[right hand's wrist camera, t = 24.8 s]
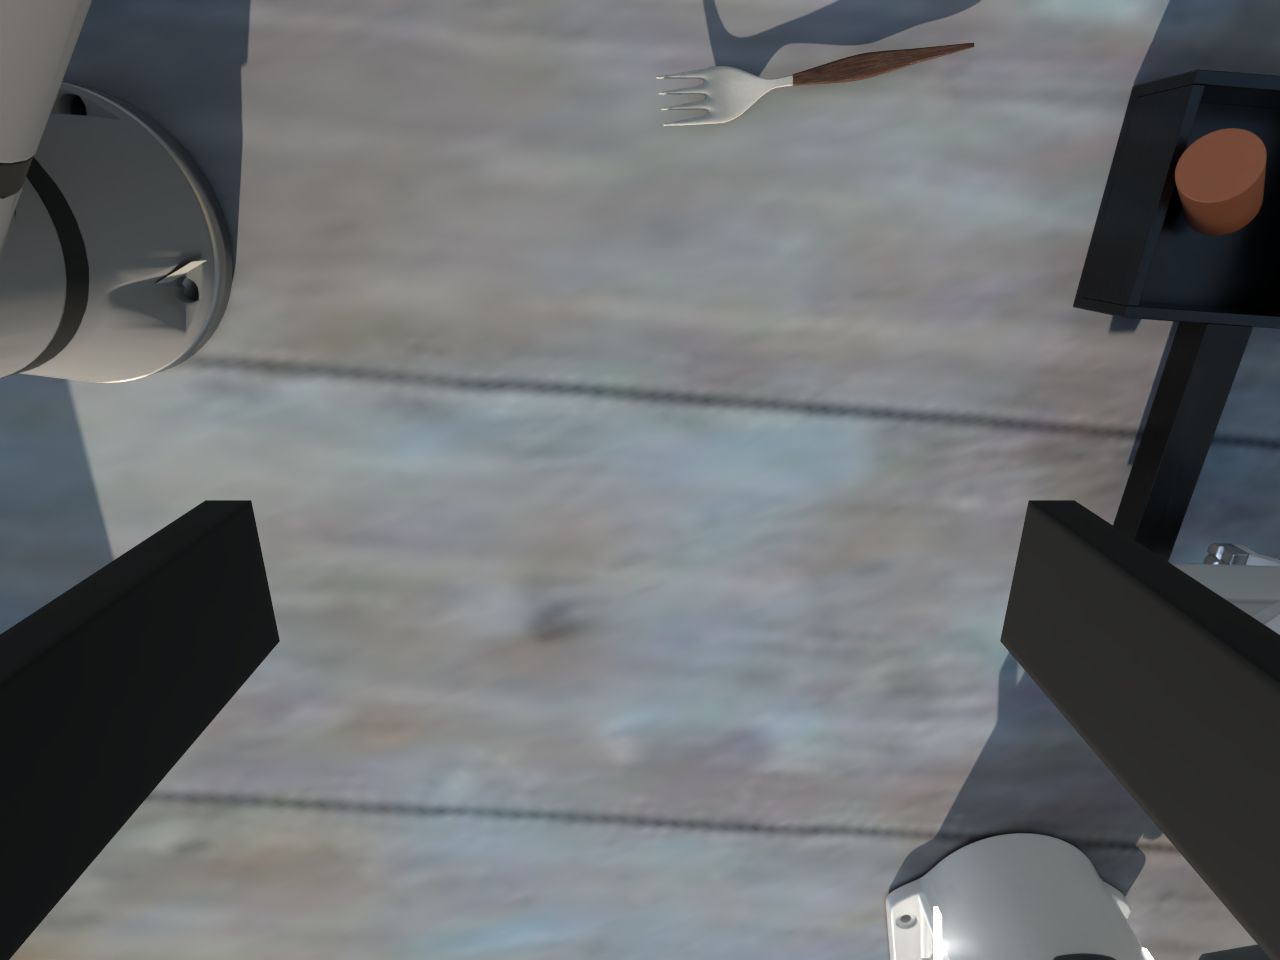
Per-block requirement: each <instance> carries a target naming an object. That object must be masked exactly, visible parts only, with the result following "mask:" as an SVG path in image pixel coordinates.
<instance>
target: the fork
mask: <svg viewBox="0 0 1280 960" xmlns="http://www.w3.org/2000/svg"><path fill="white" fill-rule="evenodd" d="M972 47H974V43H966V44H956V45H946V46H937V47H927V48H916V49H904V50H891V51H879V52H870V53H864V54H859V55H855V56H851V57H847V58H844V59H840V60H837V61H834V62H830V63H827V64H824V65H821V66H818V67H815V68H812V69H809V70H805V71H802V72H799V73H796V74H793V75H790V76H786V77H782V78H778V79H765V78H762V77H759V76H756V75H753V74H751V73H748V72H746V71H743V70H741V69H737V68H734V67H729V66H716V67H710V68H706V69H701V70H696V71H689V72H683V73H676V74H670V75H664V76H657V77H656V78H657V79H660V78H669V79H686V78H699V79H703V80H704V83H703V84H702V85H699V86H695V87H689V88H683V89H677V90H672V91H666V92H660V93H659V94H704V95H705V96H706V99H704V100H702V101H699V102H694V103H688V104H683V105H677V106H672V107H667V108H662V109H661V110H690V109H705V110H707V111H708V114H707V115H705V116H702V117H697V118H692V119H686V120H681V121H677V122H672V123H664V124H663V125H664V126H669V125H695V124H714V123H724V122H728V121H731V120H733V119H735V118H737V117H738V116H740V115H741V114H742V113H744V112H745V111H746V110H747V109H748V108H749V107H750V106H752V105H753V104H754V103H755V102H756V101H757V100H758V99H759V98H760V97H761V96H762V95H764V94H765V93H766V92H768V91H770V90H772V89H774V88H778V87H783V86H795V85H811V84H827V83H840V82H850V81H856V80H862V79H866V78H870V77H874V76H877V75H881V74H884V73H887V72H890V71H893V70H897V69H900V68H903V67H906V66H909V65H913V64H916V63H919V62H923V61H926V60H930V59H933V58H937V57H940V56H944V55H948V54H951V53H955V52H958V51H962V50H966V49H969V48H972Z"/></svg>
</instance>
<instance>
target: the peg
mask: <svg viewBox="0 0 1280 960" xmlns="http://www.w3.org/2000/svg"><path fill="white" fill-rule="evenodd" d="M1266 159H1267V153H1266V148H1265V145H1264V143H1263V142H1262V140H1261V139H1260V138H1259V137H1258V136H1257V135H1256V134H1254V133H1252V132H1250V131H1248V130H1244V129H1239V128H1227V129H1221V130H1217V131H1214V132H1211V133H1209V134H1206V135H1204V136H1203V137H1201V138H1199V139H1198V140H1196V141H1195V142H1194V143H1192V144H1191V145H1190V146H1189V147H1188V148H1187V149H1186V150H1185V152H1184V153H1183V154H1182V156H1181V157H1180V159H1179V161H1178V163H1177V166H1176V170H1175V181H1176V186H1177V189H1178V193H1179V197H1180V201H1181V205H1182V209H1183V212H1184V216H1185V219H1186V222H1187V224H1188V225H1189V226H1190V227H1191V228H1192V229H1193V230H1194V231H1196V232H1198V233H1200V234H1203V235H1208V236H1221V235H1226V234H1230V233H1232V232H1235V231H1237V230H1239V229H1241V228H1243V227H1244V226H1246V225H1247V224H1248V223H1249V222H1251V221H1252V220H1253V219H1254V217H1255V216H1256V215H1257V213H1258V212H1259V210H1260V208H1261V206H1262V202H1263V194H1264V182H1265V171H1266Z"/></svg>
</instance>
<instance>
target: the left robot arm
mask: <svg viewBox="0 0 1280 960" xmlns="http://www.w3.org/2000/svg"><path fill="white" fill-rule="evenodd" d="M1208 553H1209V555H1208V556H1207V557H1205V560H1204V564H1191V563H1171V564H1172V565H1174V566H1175V567H1177V568H1178V569H1180V570H1181V571H1183V572H1184V573H1186V574H1187V575H1189V576H1191V577H1192V578H1194V579H1195V580H1197V581H1198V582H1200V583H1201V584H1203V585H1204V586H1206V587H1207V588H1209V589H1210V590H1212V591H1214V592H1215V593H1217V594H1218V595H1220V596H1221V597H1223V598H1224V599H1226V600H1227V601H1229V602H1230V603H1232V604H1233V605H1235V606H1236V607H1238V608H1240V609H1241V610H1243V611H1244V612H1246V613H1247V614H1249V615H1250V616H1252V617H1253V618H1255V619H1256V620H1258V621H1259V622H1261V623H1262V624H1264V625H1266V626H1267V627H1269V628H1270V629H1272V630H1273V631H1275V632H1276V633H1278V634H1279V635H1280V560H1279V559H1276V558H1272V557H1268V556H1265V555H1260V554H1258V553H1256V552H1254V551H1252V550H1250V549H1248V548H1247V547H1245V546H1243V545H1241V544H1211V545H1210V546H1209V548H1208ZM886 911H887V923H888V936H889V948H890V960H1154V959H1153V957H1152V956H1151V954H1150V953H1149V952H1148V950H1147V949H1146V948H1143V947H1142V945H1141V943H1140V942H1139V940H1138V938H1137V936H1136V935H1135V933H1134V931H1133V930H1132V928H1131V926H1130V924H1129V923H1128V921H1127V918H1128V917H1129V915H1130V912H1131V908H1130V906H1129V904H1128V902H1127V901H1126V899H1125V897H1124V895H1123V894H1122V893H1121V892H1120V891H1119V890H1117V889H1116V888H1114V887H1113V886H1111V885H1109V884H1107V883H1106V882H1104V881H1103V880H1102V879H1101V878H1100V877H1099V875H1098V874H1097V872H1096V870H1095V868H1094V866H1093V864H1092V863H1091V861H1090V860H1089V859H1088V858H1087V856H1086V855H1085V854H1084V853H1082V852H1081V851H1080V850H1079V849H1077V848H1076V847H1074V846H1073V845H1071V844H1069V843H1067V842H1065V841H1063V840H1060V839H1057V838H1054V837H1051V836H1046V835H1041V834H1032V833H1014V834H1004V835H998V836H993V837H989V838H986V839H982V840H979V841H976V842H974V843H971V844H969V845H966V846H964V847H962V848H960V849H958V850H957V851H955V852H953V853H952V854H950V855H949V856H947V857H946V858H944V859H943V860H942V861H940V862H939V863H938V864H937V865H936V866H935V867H934V868H932V869H931V870H930V871H929V872H928V873H927V874H925V875H924V876H923V877H921V878H920V879H917V880H915V881H912V882H910V883H908V884H905V885H903V886H901V887H899V888H897V889H895V890H894V891H892V892H891V893H890V894H889V895H888V896H887V898H886ZM1199 960H1271V959H1270V958H1269V957H1268V956H1267V954H1266V953H1265V952H1264V951H1263V950H1262V949H1261V947H1260V946H1259V945H1252V946H1246V947H1241V948H1235V949H1229V950H1223V951H1218V952H1212V953H1206V954H1202V955H1201V956H1200V958H1199Z"/></svg>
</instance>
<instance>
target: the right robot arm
mask: <svg viewBox="0 0 1280 960" xmlns="http://www.w3.org/2000/svg"><path fill="white" fill-rule="evenodd" d="M91 3H92V0H0V378H2V377H5V376H9V375H13V374H17V373H21V374H29V375H37V376H45V377H53V378H61V379H70V380H78V381H88V382H103V383H110V382H123V381H129V380H134V379H138V378H142V377H145V376H148V375H151V374H155V373H158V372H161V371H164V370H166V369H169V368H171V367H174V366H176V365H178V364H180V363H181V362H183V361H185V360H186V359H188V358H189V357H191V356H192V355H194V354H195V353H196V352H197V351H198V350H199V349H200V348H201V347H203V346H204V344H205V343H206V342H207V341H208V340H209V339H210V337H211V336H212V335H213V333H214V332H215V330H216V329H217V327H218V325H219V323H220V321H221V319H222V317H223V315H224V312H225V310H226V307H227V304H228V300H229V296H230V291H231V285H232V272H233V262H232V250H231V243H230V237H229V233H228V229H227V225H226V222H225V219H224V216H223V213H222V210H221V207H220V205H219V203H218V200H217V198H216V196H215V194H214V192H213V190H212V188H211V186H210V184H209V182H208V181H207V179H206V178H205V176H204V174H203V173H202V171H201V170H200V168H199V167H198V165H197V164H196V163H195V161H194V160H193V159H192V157H191V156H190V155H189V154H188V152H187V151H186V150H185V149H184V148H183V147H182V146H181V145H180V143H179V142H178V141H177V140H176V139H175V138H174V137H172V136H171V135H170V134H169V133H168V132H167V131H166V130H165V129H164V128H163V127H161V126H160V125H159V124H158V123H157V122H155V121H154V120H153V119H151V118H150V117H148V116H147V115H146V114H144V113H143V112H141V111H140V110H138V109H136V108H135V107H133V106H131V105H129V104H128V103H126V102H124V101H122V100H120V99H118V98H115V97H113V96H111V95H108V94H106V93H103V92H100V91H97V90H94V89H90V88H86V87H82V86H78V85H74V84H70V83H65V82H62V81H63V78H64V75H65V73H66V70H67V67H68V65H69V62H70V59H71V57H72V54H73V51H74V48H75V46H76V43H77V40H78V38H79V35H80V32H81V30H82V27H83V24H84V21H85V19H86V16H87V13H88V11H89V8H90V5H91ZM278 642H279V636H278V631H277V626H276V621H275V616H274V611H273V606H272V601H271V596H270V591H269V586H268V581H267V576H266V572H265V567H264V562H263V557H262V552H261V547H260V542H259V537H258V532H257V527H256V522H255V517H254V512H253V507H252V503H251V501H204V502H203V503H201V504H200V505H198V506H197V507H195V508H194V509H192V510H190V511H189V512H187V513H186V514H184V515H183V516H181V517H180V518H178V519H177V520H175V521H174V522H172V523H171V524H169V525H168V526H166V527H164V528H163V529H161V530H160V531H158V532H157V533H155V534H154V535H152V536H151V537H149V538H148V539H146V540H145V541H143V542H141V543H140V544H138V545H137V546H135V547H134V548H132V549H131V550H129V551H128V552H126V553H125V554H123V555H122V556H120V557H119V558H117V559H115V560H114V561H112V562H111V563H109V564H108V565H106V566H105V567H103V568H102V569H100V570H99V571H97V572H96V573H94V574H93V575H91V576H89V577H88V578H86V579H85V580H83V581H82V582H80V583H79V584H77V585H76V586H74V587H73V588H71V589H70V590H68V591H66V592H65V593H63V594H62V595H60V596H59V597H57V598H56V599H54V600H53V601H51V602H50V603H48V604H47V605H45V606H44V607H42V608H40V609H39V610H37V611H36V612H34V613H33V614H31V615H30V616H28V617H27V618H25V619H24V620H22V621H21V622H19V623H18V624H16V625H14V626H13V627H11V628H10V629H8V630H7V631H5V632H4V633H2V634H1V635H0V960H9V959H10V958H11V957H12V956H13V954H14V953H15V952H16V951H17V950H18V949H19V947H20V946H21V945H22V944H23V943H24V941H25V940H26V939H27V938H28V937H29V936H30V934H31V933H32V932H33V931H34V930H35V929H36V927H37V926H38V925H39V924H40V923H41V921H42V920H43V919H44V918H45V917H46V916H47V914H48V913H49V912H50V911H51V910H52V908H53V907H54V906H55V905H56V904H57V903H58V901H59V900H60V899H61V898H62V897H63V896H64V894H65V893H66V892H67V891H68V890H69V888H70V887H71V886H72V885H73V884H74V883H75V881H76V880H77V879H78V878H79V877H80V876H81V874H82V873H83V872H84V871H85V870H86V868H87V867H88V866H89V865H90V864H91V863H92V861H93V860H94V859H95V858H96V857H97V856H98V854H99V853H100V852H101V851H102V850H103V848H104V847H105V846H106V845H107V844H108V843H109V841H110V840H111V839H112V838H113V837H114V835H115V834H116V833H117V832H118V831H119V830H120V828H121V827H122V826H123V825H124V824H125V823H126V821H127V820H128V819H129V818H130V817H131V815H132V814H133V813H134V812H135V811H136V810H137V808H138V807H139V806H140V805H141V804H142V803H143V801H144V800H145V799H146V798H147V797H148V795H149V794H150V793H151V792H152V791H153V790H154V788H155V787H156V786H157V785H158V784H159V783H160V781H161V780H162V779H163V778H164V777H165V775H166V774H167V773H168V772H169V771H170V770H171V768H172V767H173V766H174V765H175V764H176V762H177V761H178V760H179V759H180V758H181V757H182V755H183V754H184V753H185V752H186V751H187V750H188V748H189V747H190V746H191V745H192V744H193V742H194V741H195V740H196V739H197V738H198V737H199V735H200V734H201V733H202V732H203V731H204V730H205V728H206V727H207V726H208V725H209V724H210V722H211V721H212V720H213V719H214V718H215V717H216V715H217V714H218V713H219V712H220V711H221V710H222V708H223V707H224V706H225V705H226V704H227V702H228V701H229V700H230V699H231V698H232V697H233V695H234V694H235V693H236V692H237V691H238V689H239V688H240V687H241V686H242V685H243V684H244V682H245V681H246V680H247V679H248V678H249V677H250V675H251V674H252V673H253V672H254V671H255V669H256V668H257V667H258V666H259V665H260V664H261V662H262V661H263V660H264V659H265V658H266V657H267V655H268V654H269V653H270V652H271V651H272V649H273V648H274V647H275V646H276V645H277V644H278ZM1001 642H1002V644H1003V645H1004V646H1005V647H1006V648H1007V649H1008V651H1009V652H1010V653H1011V654H1012V655H1013V657H1014V658H1015V659H1016V660H1017V661H1018V662H1019V664H1020V665H1021V666H1022V667H1023V668H1024V669H1025V671H1026V672H1027V673H1028V674H1029V675H1030V677H1031V678H1032V679H1033V680H1034V681H1035V682H1036V684H1037V685H1038V686H1039V687H1040V688H1041V689H1042V691H1043V692H1044V693H1045V694H1046V695H1047V697H1048V698H1049V699H1050V700H1051V701H1052V702H1053V704H1054V705H1055V706H1056V707H1057V708H1058V710H1059V711H1060V712H1061V713H1062V714H1063V715H1064V717H1065V718H1066V719H1067V720H1068V721H1069V722H1070V724H1071V725H1072V726H1073V727H1074V728H1075V730H1076V731H1077V732H1078V733H1079V734H1080V735H1081V737H1082V738H1083V739H1084V740H1085V741H1086V742H1087V744H1088V745H1089V746H1090V747H1091V748H1092V750H1093V751H1094V752H1095V753H1096V754H1097V755H1098V757H1099V758H1100V759H1101V760H1102V761H1103V762H1104V764H1105V765H1106V766H1107V767H1108V768H1109V770H1110V771H1111V772H1112V773H1113V774H1114V775H1115V777H1116V778H1117V779H1118V780H1119V781H1120V783H1121V784H1122V785H1123V786H1124V787H1125V788H1126V790H1127V791H1128V792H1129V793H1130V794H1131V795H1132V797H1133V798H1134V799H1135V800H1136V801H1137V803H1138V804H1139V805H1140V806H1141V807H1142V808H1143V810H1144V811H1145V812H1146V813H1147V814H1148V815H1149V817H1150V818H1151V819H1152V820H1153V821H1154V823H1155V824H1156V825H1157V826H1158V827H1159V828H1160V830H1161V831H1162V832H1163V833H1164V834H1165V835H1166V837H1167V838H1168V839H1169V840H1170V841H1171V843H1172V844H1173V845H1174V846H1175V847H1176V848H1177V850H1178V851H1179V852H1180V853H1181V854H1182V856H1183V857H1184V858H1185V859H1186V860H1187V861H1188V863H1189V864H1190V865H1191V866H1192V867H1193V868H1194V870H1195V871H1196V872H1197V873H1198V874H1199V876H1200V877H1201V878H1202V879H1203V880H1204V881H1205V883H1206V884H1207V885H1208V886H1209V887H1210V888H1211V890H1212V891H1213V892H1214V893H1215V894H1216V896H1217V897H1218V898H1219V899H1220V900H1221V901H1222V903H1223V904H1224V905H1225V906H1226V907H1227V908H1228V910H1229V911H1230V912H1231V913H1232V914H1233V916H1234V917H1235V918H1236V919H1237V920H1238V921H1239V923H1240V924H1241V925H1242V926H1243V927H1244V929H1245V930H1246V931H1247V932H1248V933H1249V934H1250V936H1251V937H1252V938H1253V939H1254V940H1255V941H1256V943H1257V944H1258V945H1259V946H1260V947H1261V949H1262V950H1263V951H1264V952H1265V953H1266V954H1267V956H1268V957H1269V958H1270V959H1271V960H1280V635H1279V634H1278V633H1276V632H1275V631H1273V630H1272V629H1270V628H1269V627H1267V626H1266V625H1264V624H1262V623H1261V622H1259V621H1258V620H1256V619H1255V618H1253V617H1252V616H1250V615H1249V614H1247V613H1246V612H1244V611H1243V610H1241V609H1240V608H1238V607H1236V606H1235V605H1233V604H1232V603H1230V602H1229V601H1227V600H1226V599H1224V598H1223V597H1221V596H1220V595H1218V594H1217V593H1215V592H1214V591H1212V590H1210V589H1209V588H1207V587H1206V586H1204V585H1203V584H1201V583H1200V582H1198V581H1197V580H1195V579H1194V578H1192V577H1191V576H1189V575H1187V574H1186V573H1184V572H1183V571H1181V570H1180V569H1178V568H1177V567H1175V566H1174V565H1172V564H1171V563H1169V562H1168V561H1166V560H1165V559H1163V558H1161V557H1160V556H1158V555H1157V554H1155V553H1154V552H1152V551H1151V550H1149V549H1148V548H1146V547H1145V546H1143V545H1142V544H1140V543H1139V542H1137V541H1135V540H1134V539H1132V538H1131V537H1129V536H1128V535H1126V534H1125V533H1123V532H1122V531H1120V530H1119V529H1117V528H1116V527H1114V526H1112V525H1111V524H1109V523H1108V522H1106V521H1105V520H1103V519H1102V518H1100V517H1099V516H1097V515H1096V514H1094V513H1093V512H1091V511H1090V510H1088V509H1086V508H1085V507H1083V506H1082V505H1080V504H1079V503H1077V502H1076V501H1029V503H1028V507H1027V512H1026V517H1025V522H1024V527H1023V532H1022V537H1021V542H1020V547H1019V552H1018V557H1017V562H1016V567H1015V572H1014V576H1013V581H1012V586H1011V591H1010V596H1009V601H1008V606H1007V611H1006V616H1005V621H1004V626H1003V631H1002V636H1001Z"/></svg>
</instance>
